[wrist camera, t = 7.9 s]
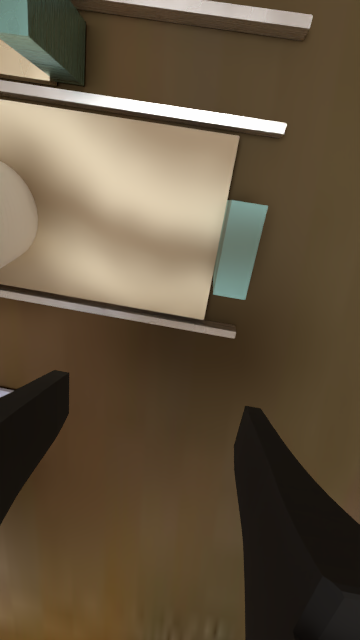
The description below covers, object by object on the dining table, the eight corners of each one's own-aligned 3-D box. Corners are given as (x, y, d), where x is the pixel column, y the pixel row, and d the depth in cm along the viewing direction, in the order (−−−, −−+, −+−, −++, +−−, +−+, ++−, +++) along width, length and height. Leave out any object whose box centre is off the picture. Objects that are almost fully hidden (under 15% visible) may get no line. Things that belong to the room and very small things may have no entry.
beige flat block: (226, 320, 21) (231, 358, 16) (-79, 265, 22) (-167, 285, 17) (266, 143, 17) (289, 118, 12) (-111, 85, 18) (-240, 39, 13)
